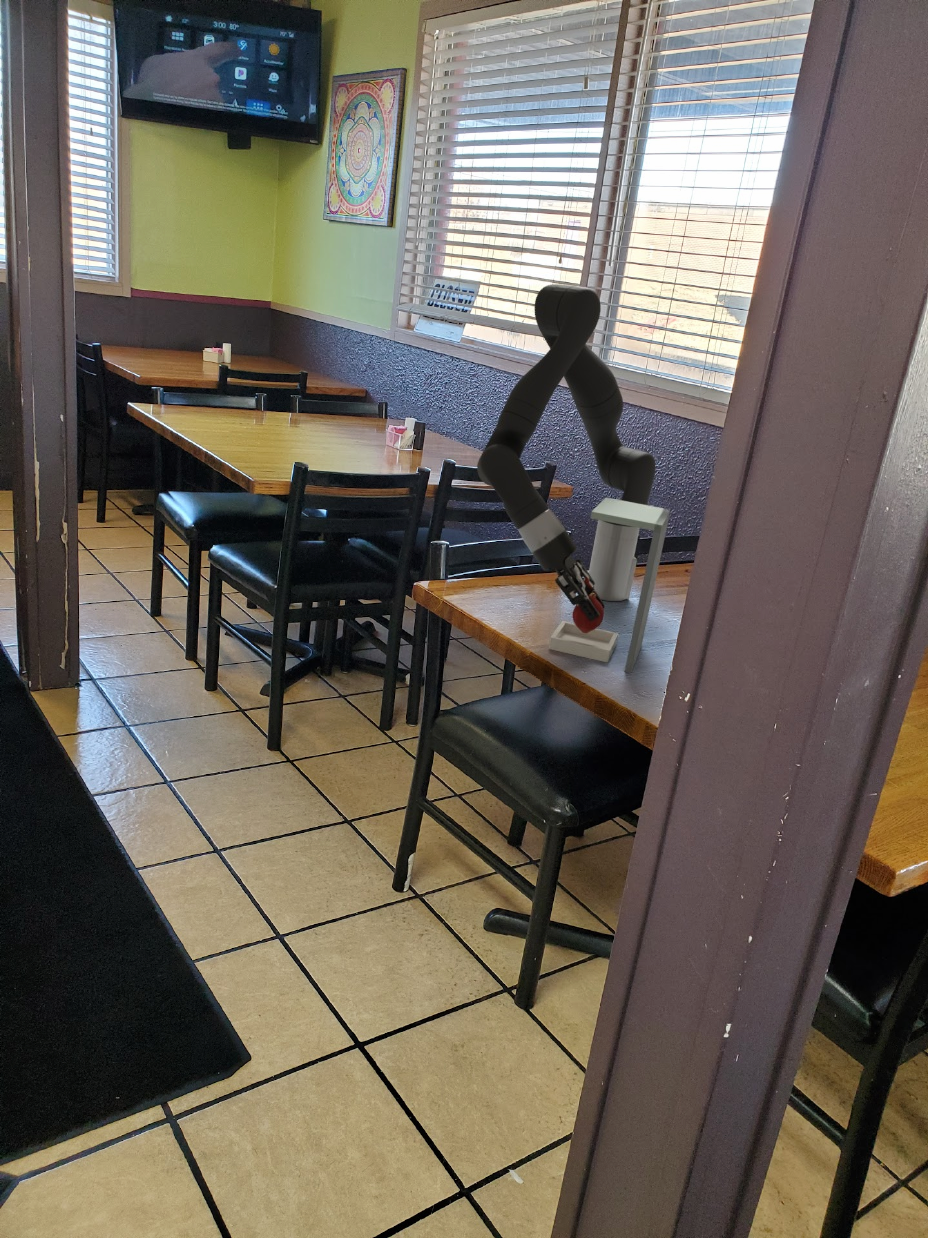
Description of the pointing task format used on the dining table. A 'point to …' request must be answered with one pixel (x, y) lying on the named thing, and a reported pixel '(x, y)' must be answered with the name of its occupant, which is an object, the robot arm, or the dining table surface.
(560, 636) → the tray
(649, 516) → the inverted l bracket
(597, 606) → the onion
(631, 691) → the dining table surface
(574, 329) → the robot arm
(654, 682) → the dining table surface
